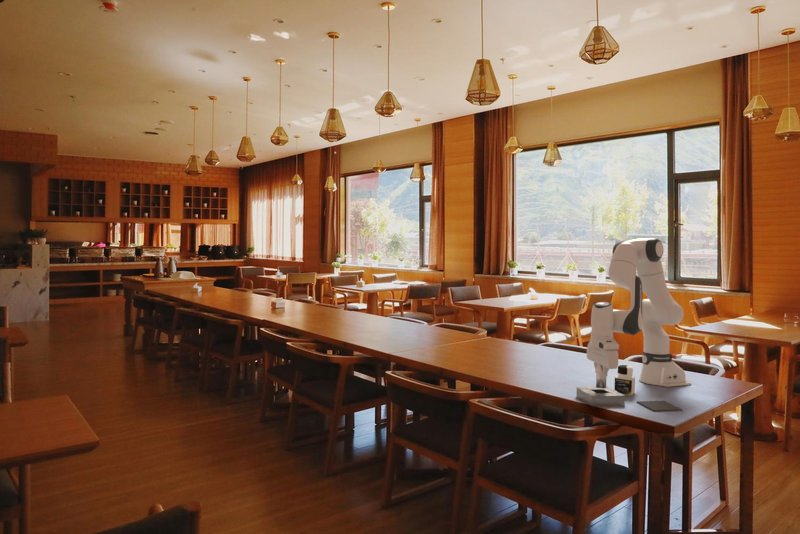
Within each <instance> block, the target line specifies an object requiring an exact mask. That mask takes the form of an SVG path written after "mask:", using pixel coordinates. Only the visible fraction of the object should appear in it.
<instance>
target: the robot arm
mask: <svg viewBox="0 0 800 534" xmlns="http://www.w3.org/2000/svg"><path fill="white" fill-rule="evenodd" d="M663 255H664V245H663V243H662V241H661V240H660V239H658V238H654V237H649V238H634V239H628V240H621V241H618V242H616V243H615V244H614V245H613V247H612V257H611V259H610V263H609V268H608V278H609V279H610V281H611V282H612V283H614V284H615V285H616V286H618V287H620V288H623V289H625V290H627V291H629V292H630V302H629V303H630V305H629V306H630V307H629V308H628V309H627V310H626V309H615V308H613V304H612V303H610V302H608V301H600V302H596V303H593V305H592V308H591V314H590V327H591V330H590V339H589V341H588V343H587V347H586V358H587V360H588V361H591V362H593V365H594V366H593V367H594V369H595V371H594V372H595V374H596V363H598V364H600V365H602V366H603V372H602V376H603V377H606V378H607V377H608V372H609V370H616V369H618V366H619V351H618V350H620V343H618V342H617V341H616V339H615V338H614V333H619V334H626V335H631V336H635V335H637V334H638V333H640V332H641V331H642V334H643V351H642V355H641V357H642V359H641V360H642V361H641V362H642V367H641V373H640V375H639V379H638V381H639V382H641V383H643V384H648V385H654V386H661V387H667V388H668V387H670V388H671V387H679V386H680V387H681V386H690V385H692V383H691V381H690V380H688V379H687V378H686V377H687V376H686V374H685V373H686V372H685V370H684V369H683V368H682V367H680V365H678V364H677V363H676V362H675V361H674V360H677V359H678V355H677V354H672V353H670V336H669V334H668V333H667V332H666V331H665V329H664V328H663V325H665V326H674V325H676V326H677V325H678V324H680V323H681V322H682V321H683V319H684V317H685V316H684V314H685V313H684V308H683V307H682V306H681V305H680V304H679V303H677V301H676V300H675V299H674V297H673V296H672V294H671V293H670V291H669V289H668V286H667V282H666V279H665V274H664V273H665V272H664V268H663V267H664V266H663V264H662V260H661V258H662V257H663ZM643 294H644V295H645V296H647V298H645V299H643Z"/></svg>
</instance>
